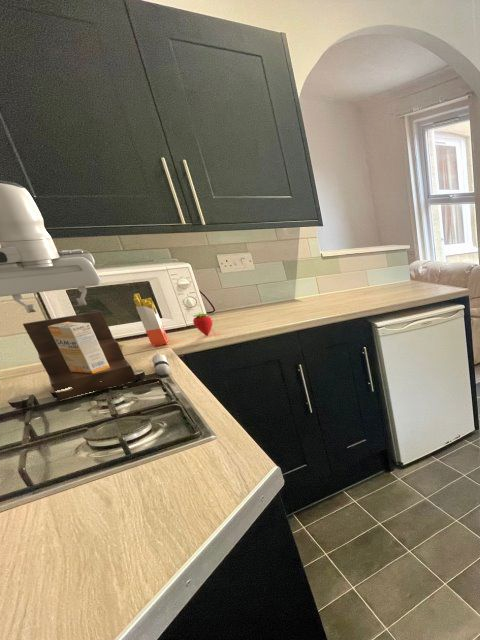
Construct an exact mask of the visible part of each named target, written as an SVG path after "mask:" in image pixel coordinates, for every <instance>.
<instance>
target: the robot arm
mask: <svg viewBox="0 0 480 640" xmlns="http://www.w3.org/2000/svg"><path fill="white" fill-rule="evenodd" d="M95 264H96V261H95V258H94V256H93V254H92V253H90V252H89V251H87V250H83V249H81V248H80V249H78V248H77V249H64V250H58V249H57V246H56V244H55V242H54V240H53V238H52V236H51V235H50V234H49V233H48V231H47V230H46V228H45V223H44V218H43V216H42V213H41V211H40V209H39V207H38V206H37V204H36V202H35V200H34V199H33V197H32V195H31V194H30V192H29V190H27V188H26V187H24V186H22V185H21V184H19V183H16V182H14V181H6V180H0V298H1V297H10V296H12V299H13V300H14V301H15V302H16V303H17V304H20V305H21V306H22V307H24V308H25V310H26V313H27V314H30V313H37V310H36V308H35V306H34V305H33V303H31V304H27V303H26V302H25V301H24V300H22V299H23V296H22V295H26V294H27V295H28V294H35V293H36V294H37V293H45V292H54V291H61V290H70V289H77V290H78V291H79V292H80V293H81V294H80V297H77V298H75V299H76V302H77V304H78V306H80V307H81V306H87V305H88V304H87V301H86V296H87V293H88V290H87V287H95V286H100V285H101V284H102V279H101V277H100V275H99V273H98V271H97V270H96V268H95V267H94V266H95Z"/></svg>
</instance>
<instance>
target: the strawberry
mask: <svg viewBox="0 0 480 640" xmlns="http://www.w3.org/2000/svg"><path fill="white" fill-rule="evenodd" d="M192 317H193V320H192V323H193V325H194V326H195V328H196V329H197V330H198V331H200V332H201V333H202V334H204V336H209V335H210V332H211V330H212V327H213V319H212V317H211V316H210V315H209V313H197V314H194V315H192ZM208 334H209V335H208Z"/></svg>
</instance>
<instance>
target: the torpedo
mask: <svg viewBox="0 0 480 640" xmlns="http://www.w3.org/2000/svg"><path fill="white" fill-rule="evenodd" d="M153 346H154V345H152V347H153ZM153 348H154V350H155V352H156V354H155V355H153V356H152V359H151V360H150V361H149V362H151V363H152V366H153V368H154V372H155V373H156V374H157V375H158V376H167V375H169V374H170V373H171V368H170V367H171V366H170V364H169V361H168V359H169V356H166V355H164V354H159V353H158V351H157V349H156V346H154V347H153Z"/></svg>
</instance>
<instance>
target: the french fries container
mask: <svg viewBox="0 0 480 640" xmlns="http://www.w3.org/2000/svg"><path fill="white" fill-rule="evenodd" d="M133 302H134V304H135V309H136V311H137V313H138V316H139V318H140V321H141V323H142V326H143V328H144V330H145V332H146V335H147V337H148V341H149V342H150V344H151V345H152V346H153V345H154V346H155V347H159V346H164V345H163V344H165V345H168V344H167V342H168V343H169V340H168V336H167V332H166V330H165V327H164V324H163V322H162V319H161V317H160V314H159V313H158V310H157V308H156V305H155V303H154V301H153V299H152V297H147V298H143V299H142V298H141V295H140V293H134V294H133Z"/></svg>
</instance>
